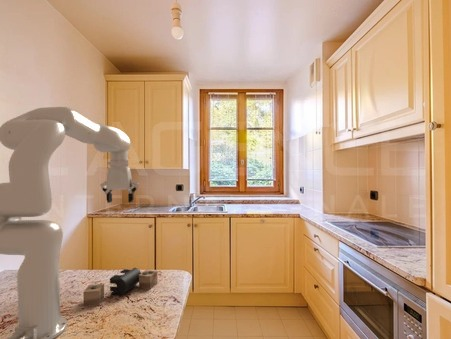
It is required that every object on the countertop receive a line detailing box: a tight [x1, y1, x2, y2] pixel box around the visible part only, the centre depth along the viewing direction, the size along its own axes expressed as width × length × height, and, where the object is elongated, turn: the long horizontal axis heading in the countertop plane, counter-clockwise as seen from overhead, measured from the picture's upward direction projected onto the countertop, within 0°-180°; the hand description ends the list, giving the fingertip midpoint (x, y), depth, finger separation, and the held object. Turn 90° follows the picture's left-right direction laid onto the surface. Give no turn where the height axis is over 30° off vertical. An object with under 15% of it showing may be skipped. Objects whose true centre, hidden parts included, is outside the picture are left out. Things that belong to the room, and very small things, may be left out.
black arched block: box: [109, 267, 142, 297], centre depth 96 cm, size 10×7×7 cm
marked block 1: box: [82, 283, 105, 308], centre depth 88 cm, size 5×5×5 cm
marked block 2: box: [138, 269, 158, 290], centre depth 99 cm, size 5×5×5 cm
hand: (120, 202), depth 115 cm, fingers open, 9 cm apart
